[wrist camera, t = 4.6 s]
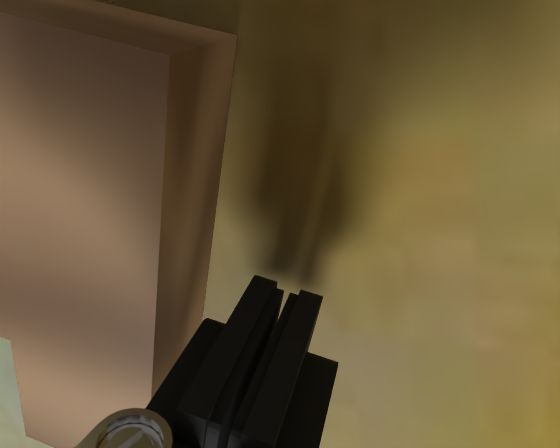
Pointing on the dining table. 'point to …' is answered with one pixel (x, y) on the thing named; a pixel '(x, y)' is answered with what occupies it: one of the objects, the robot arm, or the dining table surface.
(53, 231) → the walnut T-block
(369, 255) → the dining table surface
